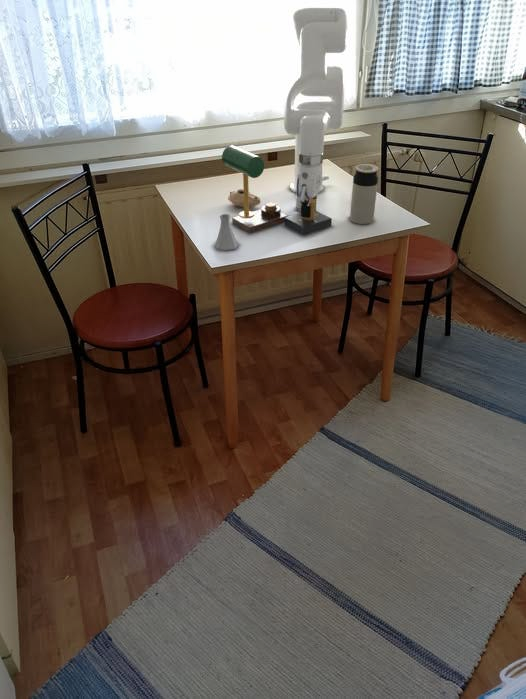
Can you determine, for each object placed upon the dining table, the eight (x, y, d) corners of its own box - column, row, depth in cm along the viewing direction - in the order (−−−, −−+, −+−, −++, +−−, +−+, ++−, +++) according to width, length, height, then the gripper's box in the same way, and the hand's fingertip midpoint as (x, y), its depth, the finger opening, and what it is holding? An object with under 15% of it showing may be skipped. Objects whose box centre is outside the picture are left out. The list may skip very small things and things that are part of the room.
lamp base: (270, 212, 203) (270, 201, 200) (287, 221, 196) (288, 210, 194) (232, 223, 195) (231, 212, 193) (249, 233, 189) (249, 222, 186)
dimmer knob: (304, 214, 194) (305, 196, 190) (316, 216, 192) (317, 198, 188) (299, 219, 191) (300, 200, 187) (311, 221, 189) (312, 202, 185)
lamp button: (271, 206, 198) (271, 201, 197) (278, 209, 195) (278, 204, 194) (263, 208, 196) (263, 204, 195) (269, 212, 194) (269, 207, 193)
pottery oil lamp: (253, 212, 202) (243, 195, 198) (231, 214, 210) (221, 198, 206) (267, 197, 205) (257, 180, 201) (245, 199, 214) (235, 183, 210)
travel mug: (352, 225, 194) (357, 172, 183) (347, 215, 200) (352, 163, 190) (375, 224, 194) (381, 171, 184) (370, 214, 201) (376, 163, 190)
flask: (214, 241, 184) (212, 211, 178) (237, 240, 185) (236, 210, 179) (215, 251, 178) (213, 221, 172) (238, 250, 179) (237, 220, 173)
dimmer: (311, 217, 199) (312, 208, 197) (331, 226, 193) (331, 217, 191) (284, 225, 194) (284, 216, 192) (303, 236, 187) (303, 226, 185)
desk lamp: (240, 207, 196) (239, 143, 184) (265, 220, 187) (265, 154, 175) (224, 211, 193) (221, 147, 181) (248, 225, 184) (247, 158, 172)
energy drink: (300, 213, 202) (301, 179, 195) (293, 208, 206) (293, 175, 199) (313, 210, 204) (315, 177, 197) (305, 205, 208) (307, 172, 201)
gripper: (312, 168, 172) (310, 225, 183) (331, 152, 185) (327, 206, 196) (289, 165, 175) (288, 221, 186) (309, 149, 187) (306, 203, 198)
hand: (308, 213), depth 190 cm, fingers closed on dimmer knob, 4 cm apart
